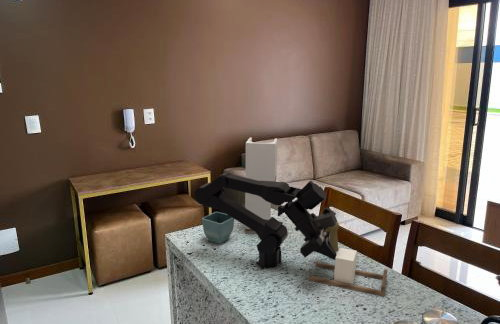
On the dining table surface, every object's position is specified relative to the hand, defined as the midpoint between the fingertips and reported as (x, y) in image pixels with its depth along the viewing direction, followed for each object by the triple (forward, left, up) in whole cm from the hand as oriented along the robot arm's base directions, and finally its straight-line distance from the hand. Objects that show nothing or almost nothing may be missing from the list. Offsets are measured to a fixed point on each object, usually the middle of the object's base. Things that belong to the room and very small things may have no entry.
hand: (336, 258), depth 115 cm
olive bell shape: (+12, +15, -7) cm, 20 cm away
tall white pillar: (+2, +43, -7) cm, 44 cm away
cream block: (+2, -2, -6) cm, 7 cm away
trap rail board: (+2, -3, -7) cm, 8 cm away
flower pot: (-17, +42, -7) cm, 46 cm away
